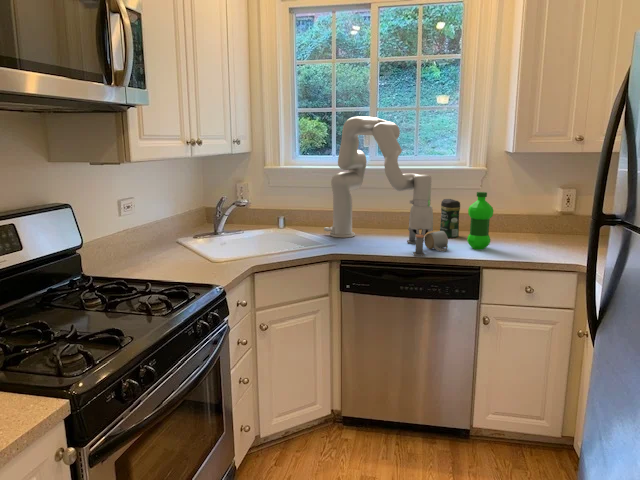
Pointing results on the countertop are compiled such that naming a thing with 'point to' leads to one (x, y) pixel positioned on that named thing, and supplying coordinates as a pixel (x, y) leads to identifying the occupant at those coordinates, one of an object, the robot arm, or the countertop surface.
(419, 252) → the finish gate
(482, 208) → the plastic bottle
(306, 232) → the countertop surface
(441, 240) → the ceramic mug
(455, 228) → the coffee jar
